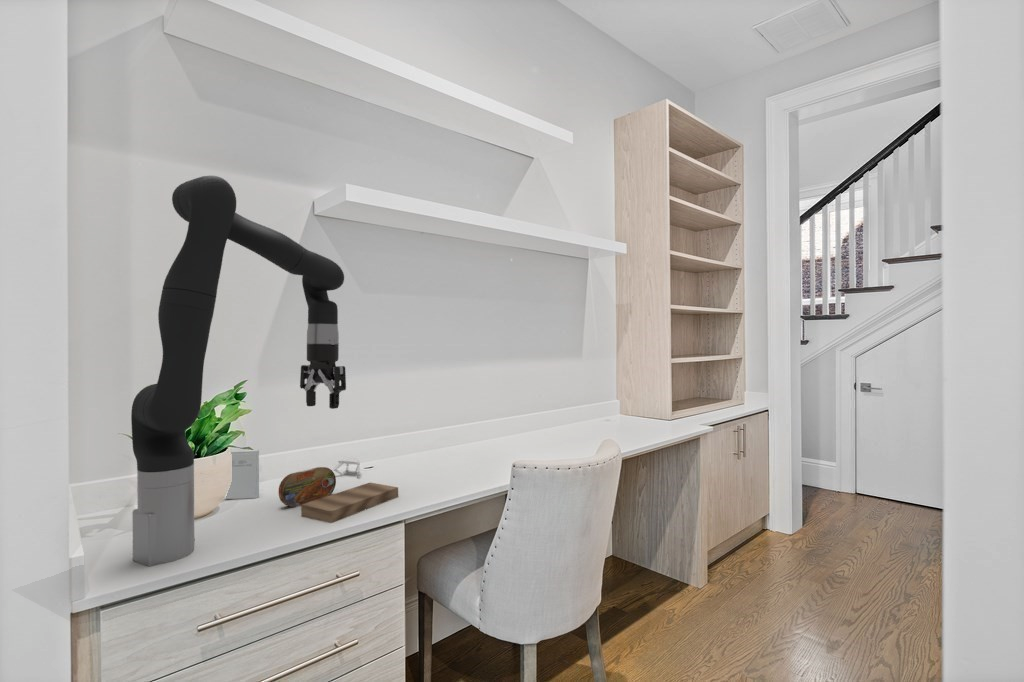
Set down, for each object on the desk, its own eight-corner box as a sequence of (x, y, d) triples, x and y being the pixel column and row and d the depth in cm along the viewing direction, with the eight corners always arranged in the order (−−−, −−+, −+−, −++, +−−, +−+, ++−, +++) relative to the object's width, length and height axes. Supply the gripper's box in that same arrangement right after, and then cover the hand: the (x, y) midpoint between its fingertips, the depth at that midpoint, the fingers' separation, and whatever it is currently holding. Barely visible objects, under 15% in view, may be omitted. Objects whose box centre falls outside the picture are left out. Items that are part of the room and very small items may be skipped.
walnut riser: (331, 524, 119) (331, 511, 119) (301, 517, 124) (301, 504, 123) (398, 498, 138) (398, 487, 138) (370, 493, 143) (369, 482, 143)
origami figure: (326, 476, 162) (326, 460, 162) (349, 470, 168) (349, 455, 168) (351, 482, 154) (351, 465, 154) (374, 476, 161) (373, 460, 161)
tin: (283, 511, 128) (283, 476, 128) (276, 509, 130) (276, 474, 130) (336, 496, 140) (336, 464, 140) (329, 494, 142) (329, 463, 142)
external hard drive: (227, 497, 140) (226, 450, 140) (259, 496, 141) (259, 449, 141) (224, 499, 138) (224, 451, 138) (257, 498, 139) (256, 451, 139)
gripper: (291, 342, 133) (291, 407, 133) (329, 342, 126) (329, 410, 125) (316, 342, 139) (316, 404, 139) (354, 342, 132) (353, 407, 132)
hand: (322, 407), depth 132 cm, fingers open, 8 cm apart
